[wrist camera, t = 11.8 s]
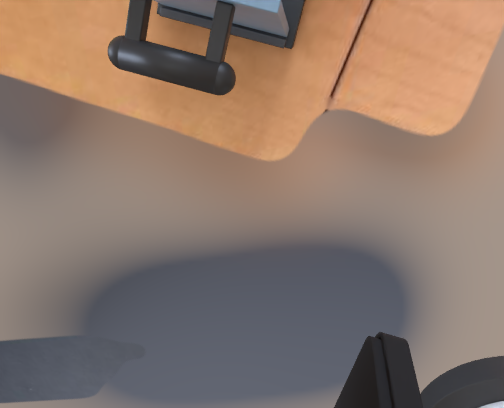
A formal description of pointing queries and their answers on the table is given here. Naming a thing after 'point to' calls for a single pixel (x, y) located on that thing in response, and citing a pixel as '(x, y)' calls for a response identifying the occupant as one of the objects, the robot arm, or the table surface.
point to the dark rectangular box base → (292, 9)
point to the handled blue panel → (185, 63)
